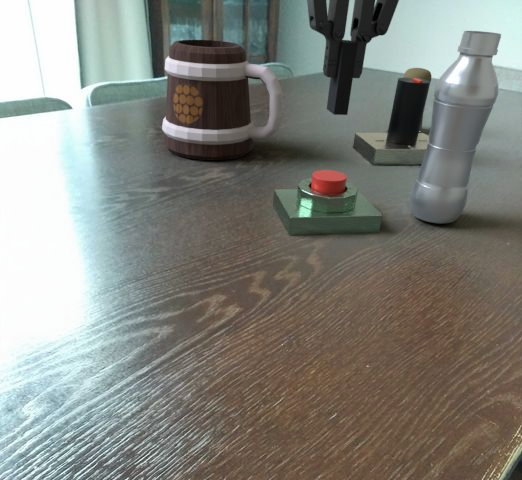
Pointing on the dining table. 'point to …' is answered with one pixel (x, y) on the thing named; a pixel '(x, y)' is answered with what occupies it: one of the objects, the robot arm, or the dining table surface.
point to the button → (328, 182)
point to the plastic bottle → (456, 129)
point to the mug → (214, 100)
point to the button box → (325, 211)
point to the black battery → (407, 110)
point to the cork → (419, 74)
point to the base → (390, 149)
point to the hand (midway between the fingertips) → (336, 111)
